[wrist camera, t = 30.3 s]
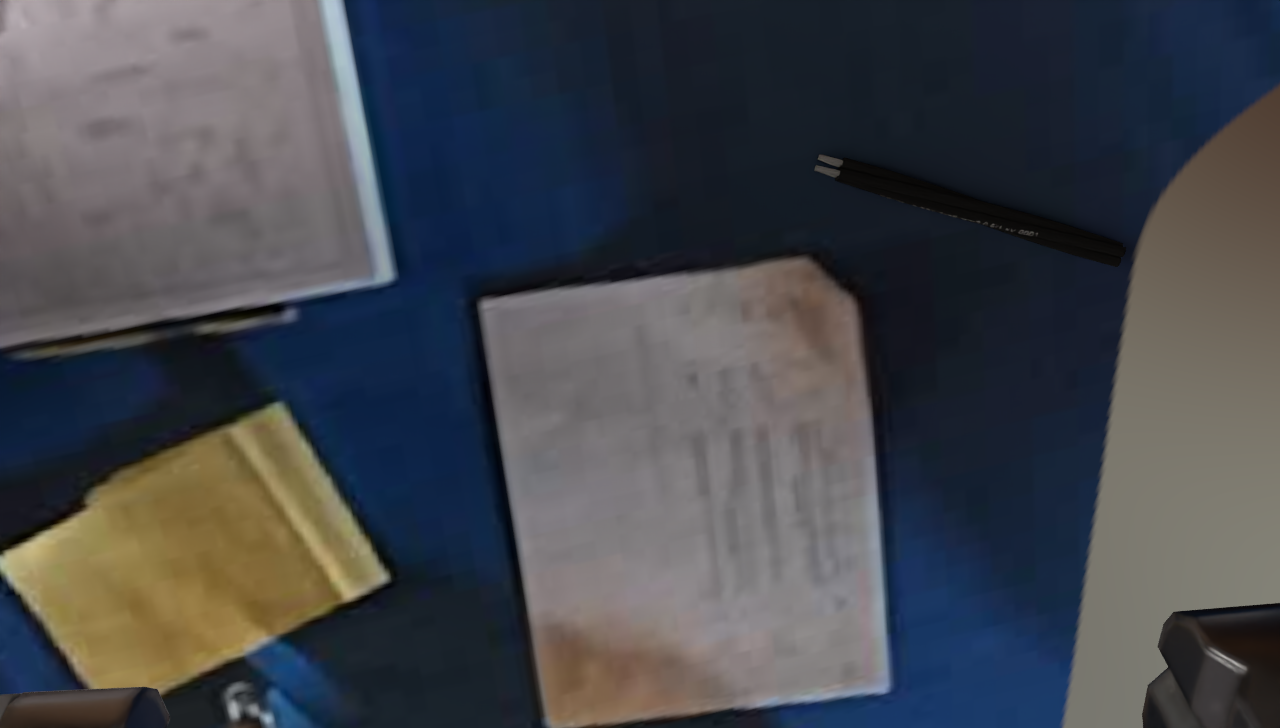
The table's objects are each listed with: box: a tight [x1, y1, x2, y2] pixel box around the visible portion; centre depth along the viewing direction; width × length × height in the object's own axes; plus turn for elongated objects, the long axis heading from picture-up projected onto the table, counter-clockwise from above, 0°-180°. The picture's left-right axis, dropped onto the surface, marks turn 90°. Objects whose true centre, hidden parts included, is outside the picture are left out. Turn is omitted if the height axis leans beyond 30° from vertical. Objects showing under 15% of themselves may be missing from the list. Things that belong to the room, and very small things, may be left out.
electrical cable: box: [815, 155, 1126, 267], centre depth 46 cm, size 12×1×1 cm, turn 73°
